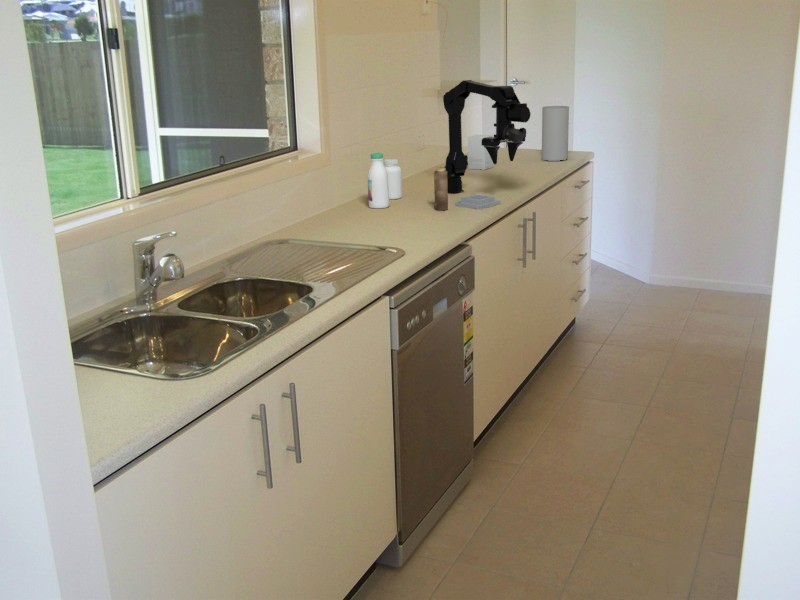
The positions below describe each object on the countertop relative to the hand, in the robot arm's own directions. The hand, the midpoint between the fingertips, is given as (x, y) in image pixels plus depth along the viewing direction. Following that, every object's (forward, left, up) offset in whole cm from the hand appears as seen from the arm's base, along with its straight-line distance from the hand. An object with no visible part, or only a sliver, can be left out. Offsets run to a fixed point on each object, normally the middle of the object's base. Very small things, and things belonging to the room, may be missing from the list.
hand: (503, 162), depth 328 cm
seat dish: (-2, -13, -14) cm, 19 cm away
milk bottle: (-31, -36, -14) cm, 50 cm away
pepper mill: (-8, -27, -14) cm, 32 cm away
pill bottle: (-39, -20, -14) cm, 46 cm away
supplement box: (-53, +56, -14) cm, 78 cm away
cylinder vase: (-37, +94, -14) cm, 102 cm away
